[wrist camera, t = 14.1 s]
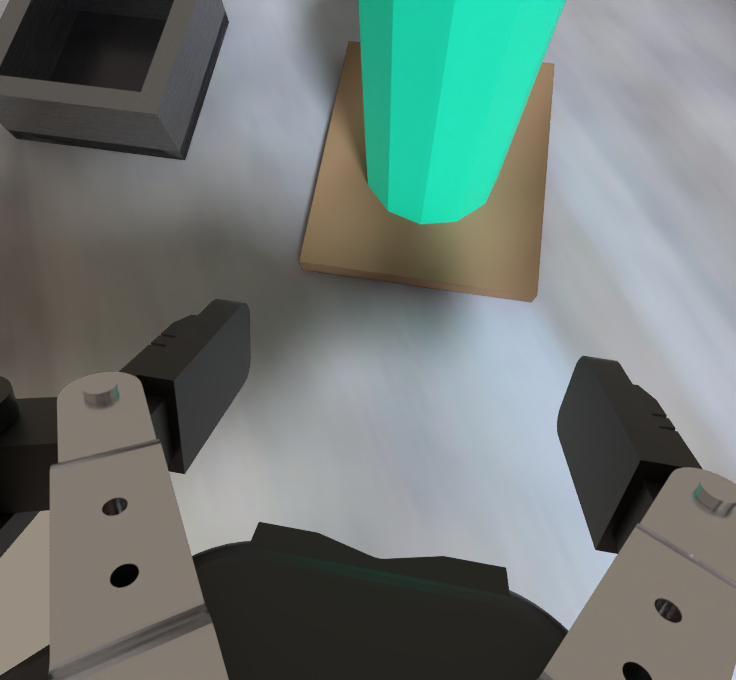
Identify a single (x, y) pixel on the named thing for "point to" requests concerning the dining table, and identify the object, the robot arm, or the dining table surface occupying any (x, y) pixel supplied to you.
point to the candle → (446, 97)
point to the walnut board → (438, 240)
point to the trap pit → (108, 71)
